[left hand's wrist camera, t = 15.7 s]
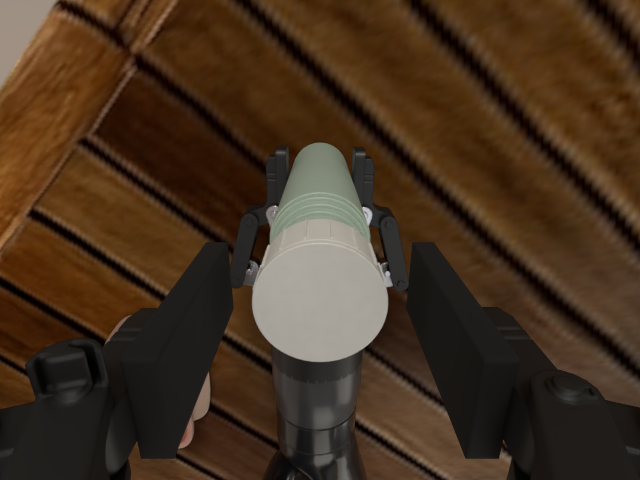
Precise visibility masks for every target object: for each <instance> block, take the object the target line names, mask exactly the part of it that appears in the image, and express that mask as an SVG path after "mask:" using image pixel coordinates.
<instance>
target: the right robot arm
mask: <svg viewBox="0 0 640 480" xmlns="http://www.w3.org/2000/svg"><path fill="white" fill-rule="evenodd" d="M374 169H375V166H374V163H373V160H372V158H371V157H370V156H366V153H365V149H364V148H363V147H353V153H352V175H351V178H352V181H353V184H354V187H355V189H356V192H357V195H358V198H359V201H360V204H361V206H362V209H363V212H364V215H365V218H366V220H367V223H368V226H369V225H372V226H374V227H377V228H378V229H379V234H380V238H381V243H382V248H383V252H384V257H385V258H381V259H380V260H378V263H380V266H381V269H382V272H383V275H384V278H385V281H386V284H387V287H390V286H393V287H394V289H396V290H398V291H403V290H405V289H406V288H407V287H408V286H409V280H408V275H407V270H406V265H405V260H404V255H403V250H402V244H401V239H400V234H399V229H398V224H397V221H396V219H395V217H394V216H393V214H392V212H391V210H390V209H389V208H387V207H380V206H378V205H375V204H374V203H373V202H372V199H373V184H374ZM266 178H267V201H266V202H264V203H262V204H259V205H251V206H249V207H248V209H247V210H246V213H245V214H244V215H243V217H242V219H241V222H240V226H239V231H238V235H237V239H236V244H235V248H234V252H233V257H232V261H231V266H230V275H231V286H232V288H240V287H241V286H242V285H243V284H246V285H250V286H254V283H255V280H256V277H257V274H258V271H259V268H260V260H259V259H258V258H257V257H255V256H252V255H253V251H254V247H255V243H256V238H257V234H258V230H259V226H262V225H265V224H268V223H269V225H270V227H272V224H273V221H274V218H275V215H276V212H277V209H278V207H279V204H280V201H281V198H282V195H283V192H284V190H285V187H286V184H287V181H288V178H289V156H288V146H277V148H276V154H271V155H270V156H269V158H268V161H267V163H266ZM271 347H272V375H273V386H274V391H275V395H276V403H277V434H278V441H279V446H280V450H278V451H277V452H276V453H275V454H274V456H273V457H272V459H271V461H270V463H269V465H268V467H267V469H266V472H265V474H264V477H263V479H262V480H367V476H366V472H365V468H364V465H363V462H362V458H361V455H360V452H359V448H358V444H357V440H356V437H355V433H354V431H355V412H356V401H357V396H358V392H359V387H360V381H361V367H362V352H363V349H362V350H360V351H359V352H357V353H355V354H353V355H351V356H348V357H346V358H343V359H340V360H335V361H329V362H311V361H305V360H301V359H297V358H294V357H292V356H289V355H287V354H285V353H283V352H281V351H280V350H278V349H277V348H275V347H274V346H273V345H272V344H271Z"/></svg>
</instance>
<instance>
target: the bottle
mask: <svg viewBox="0 0 640 480" xmlns="http://www.w3.org/2000/svg"><path fill="white" fill-rule="evenodd" d="M311 219H329V220H330V219H332V220H335V221H338V222H341V223H344V224H346V225H348V226H350V227H354V228H355V230H357V231H358V232H359V233H360V234H361V235H362V236H363V237H364V238H365V239H366V240H367V241H368V242H369V243H370V231H369V227H368V223H367V220H366V218H365V215H364V212H363V209H362V206H361V204H360V201H359V198H358V195H357V192H356V189H355V187H354V184H353V181H352V178H351V175H350V173H349V170H348V167H347V164H346V161H345V159H344V157H343V155H342V154H341V152H340V151H339V150H338V149H337V148H335V147H334V146H332V145H329V144H326V143H314V144H310V145H308V146H306V147H305V148H303V149H302V150H301V151H300V152H299V154H298V155H297V157H296V159H295V161H294V164H293V167H292V170H291V173H290V176H289V178H288V181H287V184H286V187H285V190H284V192H283V195H282V198H281V201H280V204H279V207H278V209H277V212H276V215H275V218H274V221H273V224H272V227H271V231H270V244H271V242H272V241H273V240H274V239H275V238H276V237H277V236H278V235H279V234H280V233H281V232H282V231H283V229H287V228H288V227H290V226H292V225H294V224H296V223H299V222H302V221H305V220H311Z"/></svg>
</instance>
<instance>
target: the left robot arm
mask: <svg viewBox="0 0 640 480" xmlns="http://www.w3.org/2000/svg"><path fill="white" fill-rule="evenodd" d="M233 309H234V308H233V297H232V286H231V275H230V264H229V253H228V242H206V244H205V245H204V247H203V248H202V249H201V251H200V252H199V253H198V255H197V256H196V257H195V259H194V260H193V261H192V263H191V264H190V265H189V267H188V268H187V270H186V271H185V272H184V274H183V275H182V276H181V278H180V279H179V280H178V282H177V283H176V284H175V286H174V287H173V288H172V290H171V291H170V292H169V294H168V295H167V297H166V298H165V299H164V301H163V302H162V303H161V305H160V306H159V307H158V308H142V309H141V310H139V311H138V312H136V313H135V314H133V315H131V316H130V317H128V318H127V319H126V320H125V322H124V323H123V324H122V325H121V326H120V327H119V329H118V332H115V333H114V335H113V336H112V337H111V338H110V341H108V342H107V343H106V344H105V345H104V346H103V348H101V344H100V343H98V342H97V341H96V340H94V339H88V338H76V339H69V340H65V341H62V342H58V343H55V344H53V345H51V346H48V347H46V348H44V349H42V350H41V351H39V352H38V353H36V354H35V355H33V356H32V357H31V358H30V359H29V361H28V362H27V363H26V364H25V367H26V370H27V373H28V376H29V379H30V382H31V385H32V388H33V391H34V394H35V397H36V400H35V402H31V403H27V404H23V405H18V406H14V407H9V408H5V409H0V480H130V478H131V470H130V464H129V460H128V457H129V455H130V453H131V451H132V449H133V447H134V445H135V443H136V441H137V442H138V447H139V451H140V456H141V459H174V458H175V456H176V453H177V451H178V448H179V445H180V443H181V440H182V438H183V435H184V433H185V430H186V428H187V425H188V423H189V420H190V418H191V415H192V413H193V410H194V407H195V405H196V402H197V400H198V397H199V395H200V392H201V390H202V387H203V385H204V382H205V380H206V377H207V374H208V372H209V369H210V367H211V364H212V362H213V359H214V357H215V354H216V352H217V349H218V347H219V344H220V342H221V339H222V336H223V334H224V331H225V329H226V326H227V324H228V321H229V319H230V316H231V314H232V311H233ZM406 309H407V311H408V314H409V316H410V319H411V321H412V324H413V326H414V329H415V331H416V334H417V336H418V339H419V342H420V344H421V347H422V349H423V352H424V354H425V357H426V359H427V362H428V364H429V367H430V369H431V372H432V374H433V377H434V380H435V382H436V385H437V387H438V390H439V392H440V395H441V397H442V400H443V402H444V405H445V407H446V410H447V413H448V415H449V418H450V420H451V423H452V425H453V428H454V430H455V433H456V435H457V438H458V440H459V443H460V445H461V448H462V451H463V453H464V456H465V458H466V459H499V456H500V451H501V447H502V442H503V439H504V441H505V443H506V445H507V447H508V449H509V451H510V453H511V455H512V460H511V464H510V468H509V472H508V476H507V480H640V408H639V407H634V406H630V405H625V404H620V403H616V402H611V401H608V400H605V399H604V397H603V396H602V395H601V393H600V392H599V390H598V389H597V388H596V387H594V386H593V385H592V384H590V383H589V382H588V381H586V380H584V379H582V378H580V377H578V376H576V375H574V374H572V373H568V372H565V371H562V370H558V369H557V368H556V367H555V366H554V365H553V364H552V362H551V361H550V360H549V359H548V358H547V357H546V355H545V354H544V353H543V352H542V351H541V349H540V348H539V347H538V346H537V345H536V344H535V342H534V341H533V340H530V336H529V335H528V334H527V333H526V332H525V331H524V330H522V327H521V326H520V325H519V323H518V322H517V321H516V320H515V319H514V318H513V317H512V316H511V315H509V314H508V313H506V312H505V311H503V310H501V309H500V308H498V307H481V306H480V305H479V303H478V302H477V301H476V299H475V298H474V297H473V295H472V294H471V292H470V291H469V290H468V288H467V287H466V286H465V284H464V283H463V282H462V280H461V279H460V278H459V276H458V275H457V274H456V272H455V271H454V270H453V268H452V267H451V265H450V264H449V263H448V261H447V260H446V259H445V257H444V256H443V255H442V253H441V252H440V251H439V249H438V248H437V247H436V245H435V244H434V242H412V253H411V264H410V275H409V286H408V297H407V308H406Z"/></svg>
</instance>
